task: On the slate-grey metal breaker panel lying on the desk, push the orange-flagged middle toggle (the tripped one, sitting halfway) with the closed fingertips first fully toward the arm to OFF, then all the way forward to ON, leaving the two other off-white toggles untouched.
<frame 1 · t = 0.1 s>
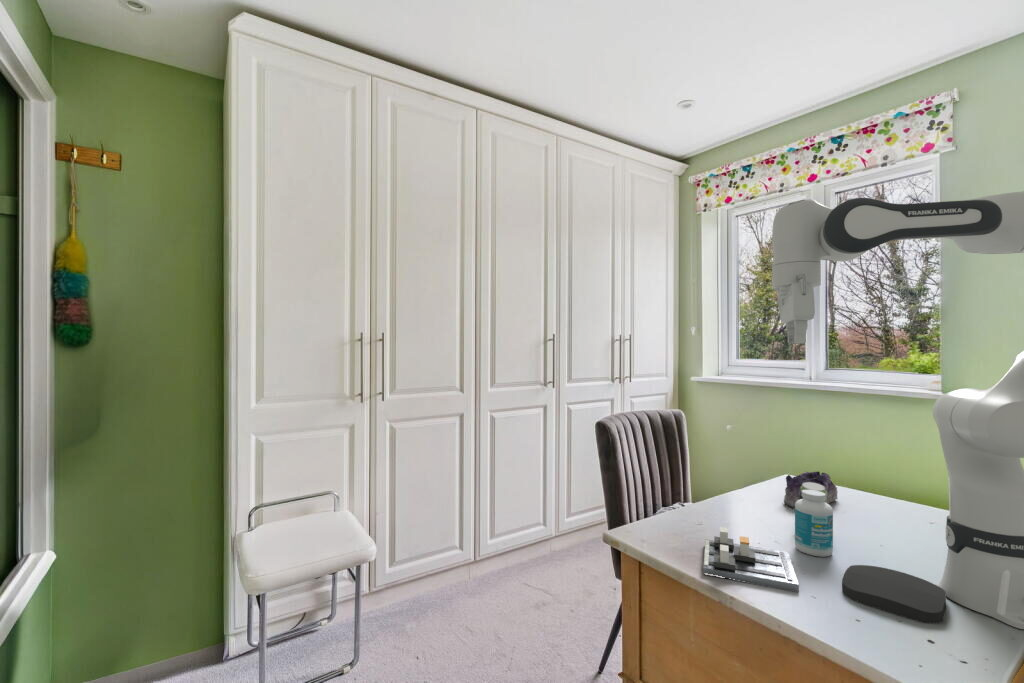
hand: (796, 343, 99), 48 cm above the table, fingers open, 8 cm apart
breaker a: (723, 552, 107), resting on panel, slide at 4.0 cm
breaker c: (724, 573, 97), resting on panel, slide at 4.0 cm
geode: (809, 503, 141), on the table
panel: (747, 566, 100), on the table
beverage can: (812, 531, 120), on the table
pill bottle: (813, 551, 108), on the table
breaker trip: (744, 566, 100), resting on panel, slide at 0.0 cm
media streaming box: (892, 599, 88), on the table
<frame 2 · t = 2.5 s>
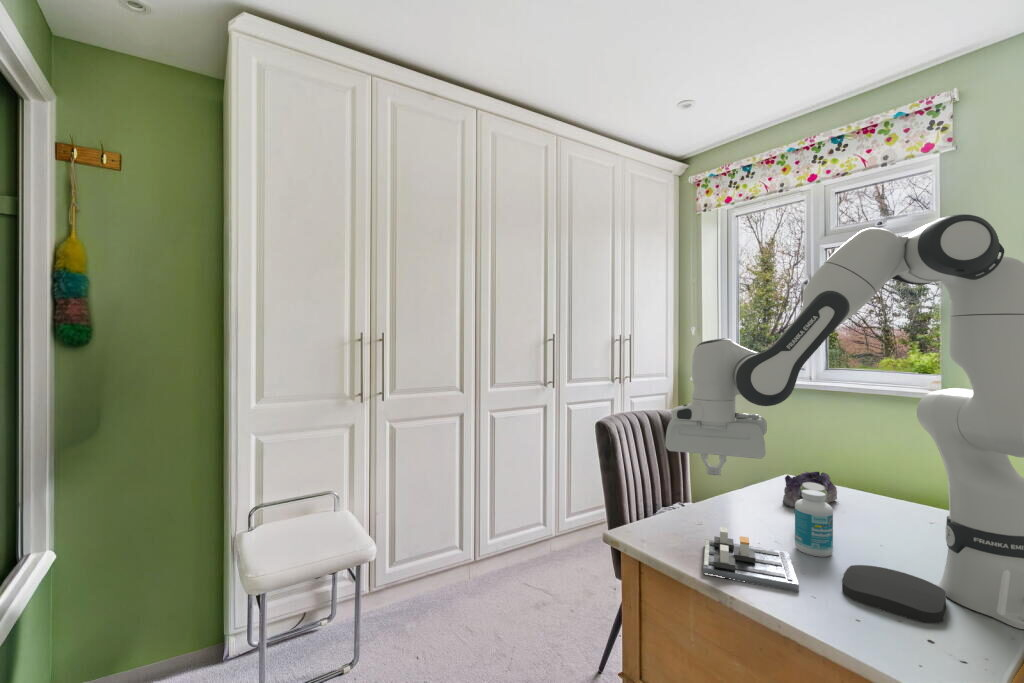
hand: (713, 474, 103), 19 cm above the table, fingers closed
nothing on the table moved.
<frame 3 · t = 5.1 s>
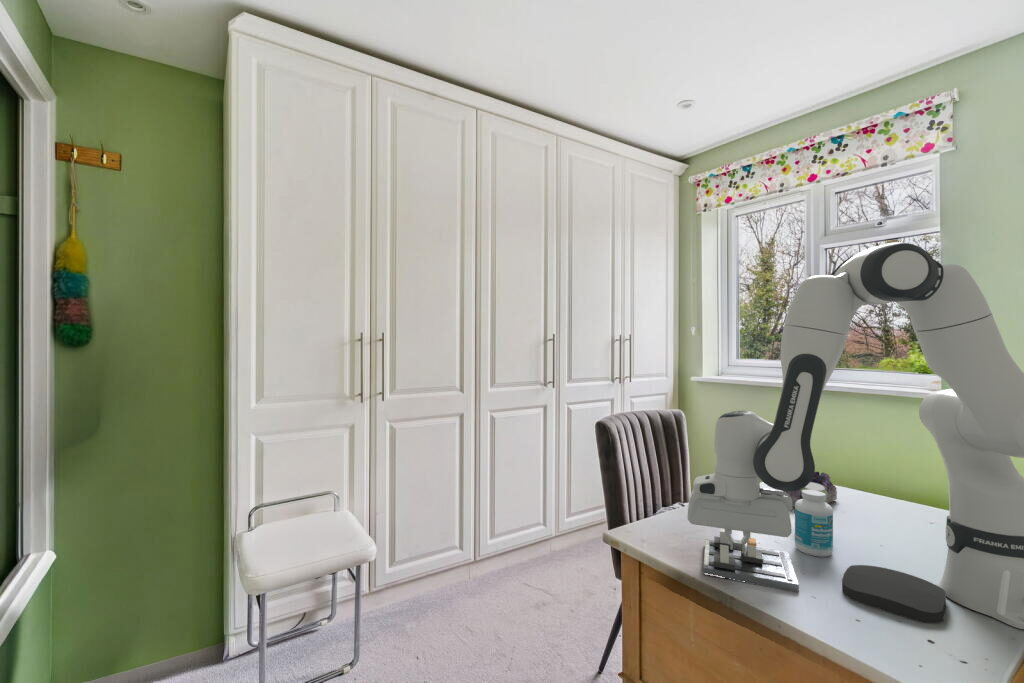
hand: (737, 549, 101), 3 cm above the table, fingers closed
breaker trip: (751, 567, 100), resting on panel, slide at -1.4 cm, touching gripper
everything else where it was.
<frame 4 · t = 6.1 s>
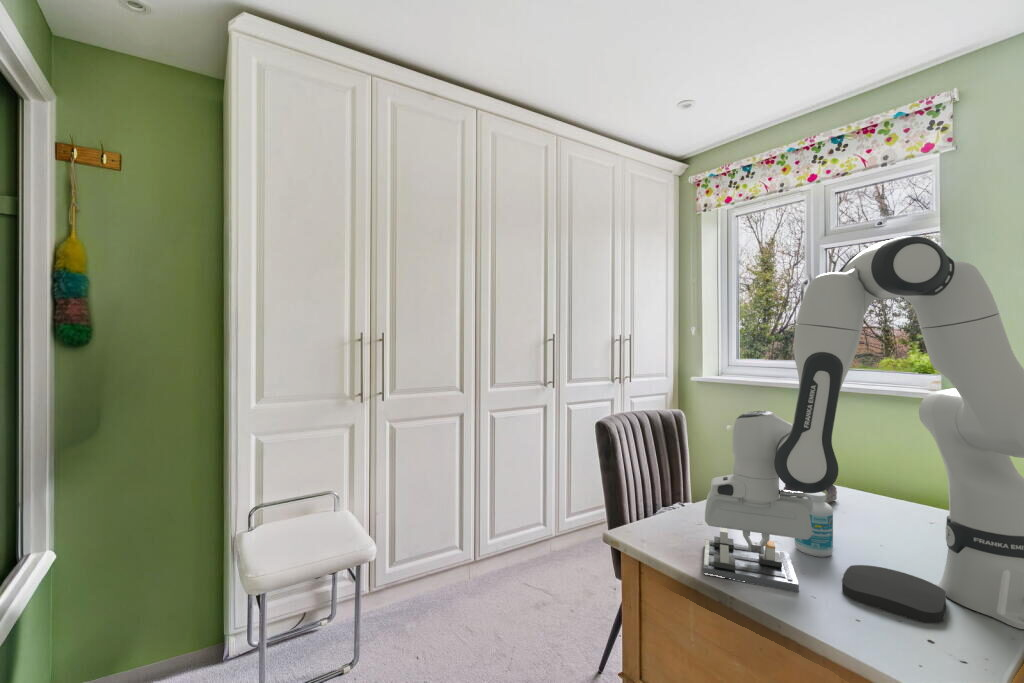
hand: (755, 552, 100), 3 cm above the table, fingers closed
breaker trip: (770, 570, 98), resting on panel, slide at -4.8 cm, touching gripper
everything else where it was.
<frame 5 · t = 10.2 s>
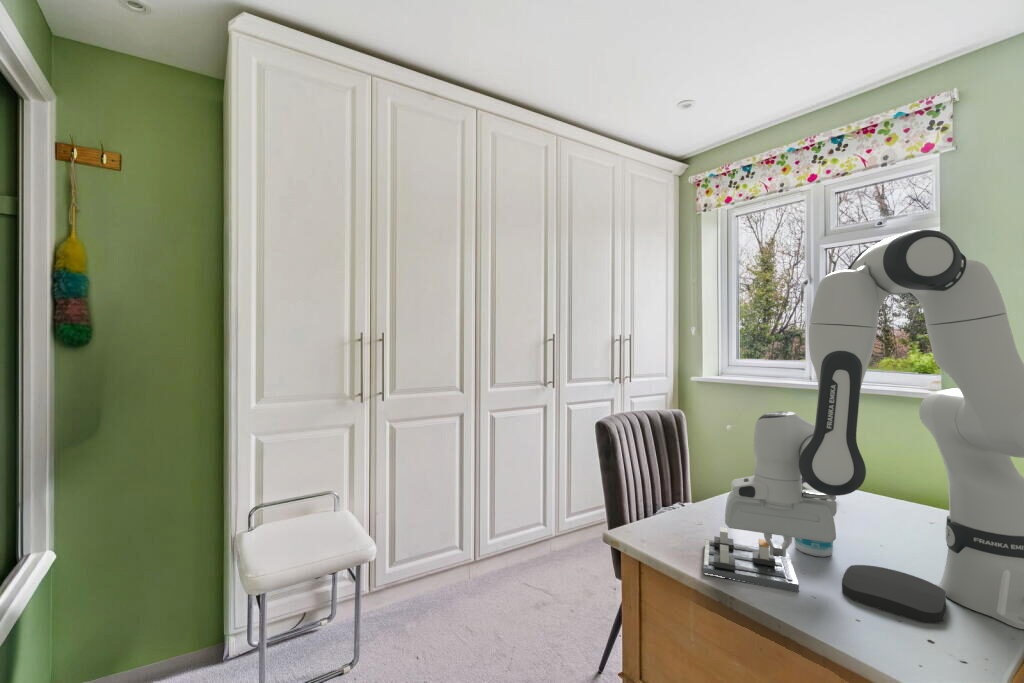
hand: (777, 554, 98), 4 cm above the table, fingers closed
breaker trip: (763, 569, 99), resting on panel, slide at -3.6 cm, touching gripper
everything else where it was.
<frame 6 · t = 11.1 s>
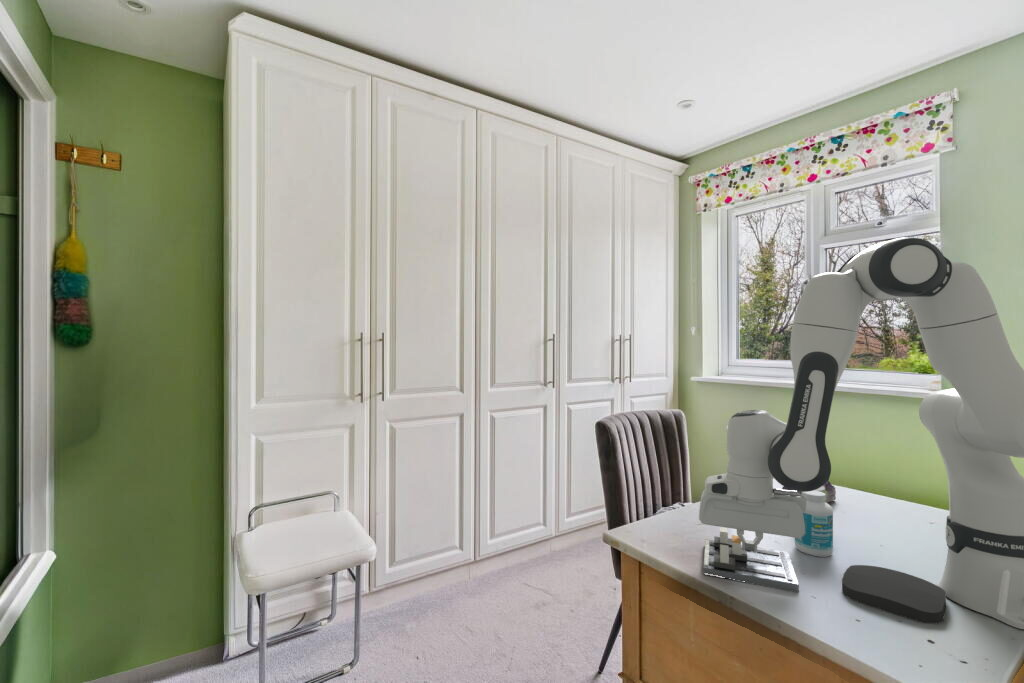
hand: (749, 550, 100), 4 cm above the table, fingers closed
breaker trip: (736, 564, 101), resting on panel, slide at 1.6 cm, touching gripper
everything else where it was.
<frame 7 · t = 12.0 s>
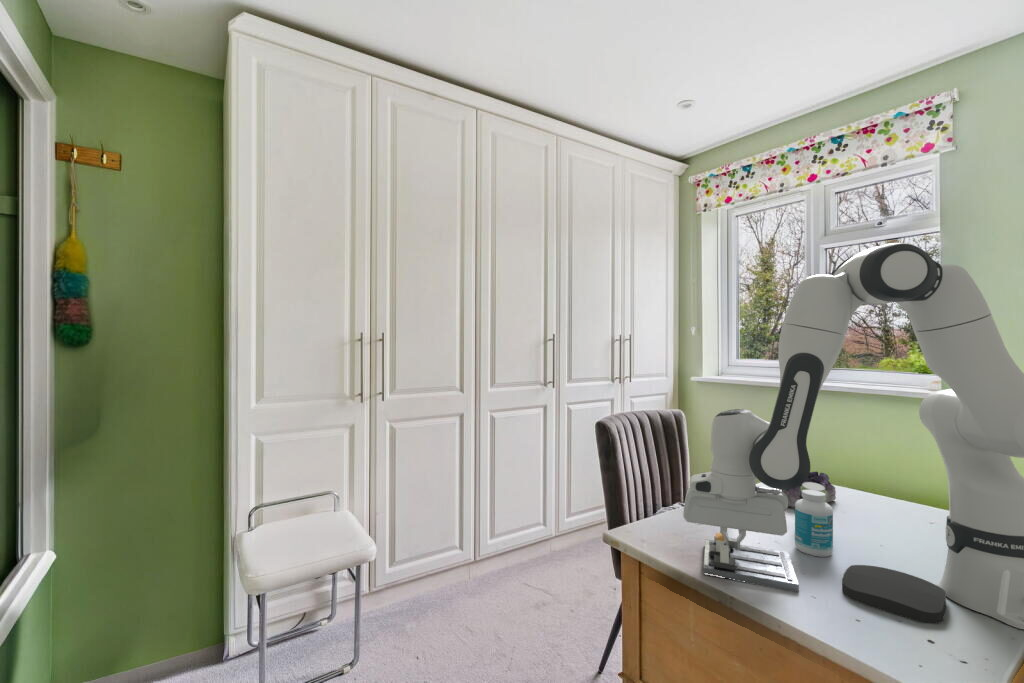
hand: (732, 547, 101), 4 cm above the table, fingers closed
breaker trip: (720, 561, 102), resting on panel, slide at 4.8 cm, touching gripper
everything else where it was.
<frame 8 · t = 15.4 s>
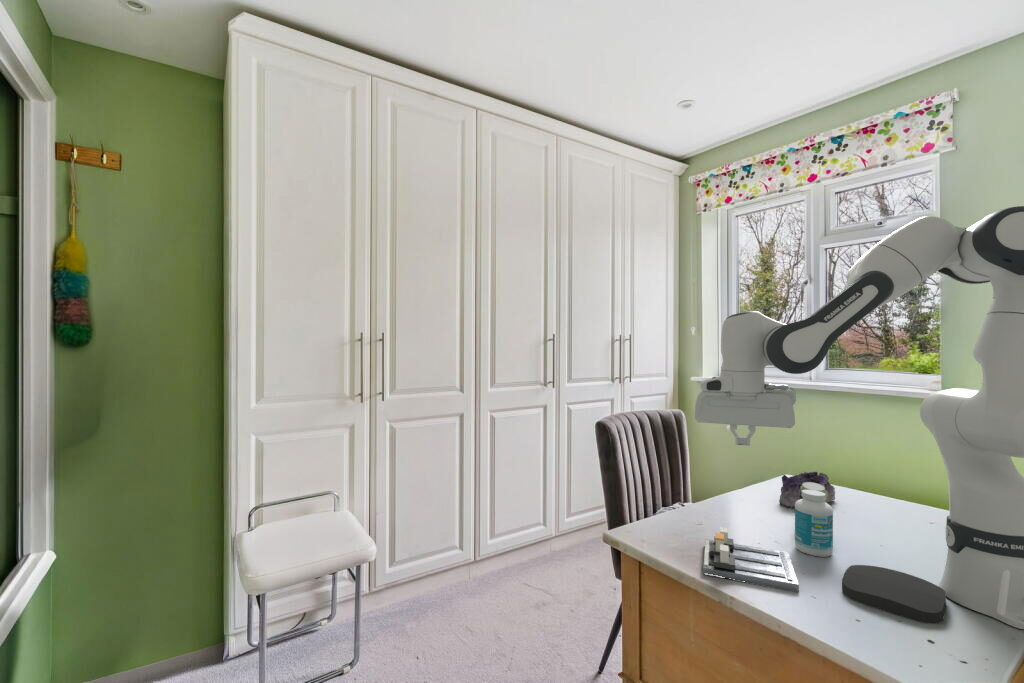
hand: (742, 444, 105), 25 cm above the table, fingers closed
breaker trip: (719, 561, 102), resting on panel, slide at 4.9 cm
everything else where it was.
at the end: breaker trip slide at 4.9 cm; breaker c slide at 4.0 cm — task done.
